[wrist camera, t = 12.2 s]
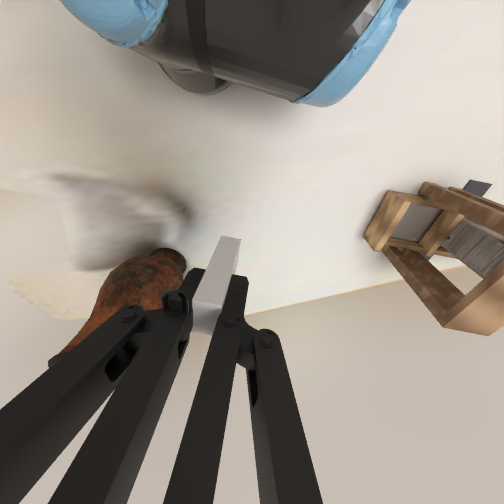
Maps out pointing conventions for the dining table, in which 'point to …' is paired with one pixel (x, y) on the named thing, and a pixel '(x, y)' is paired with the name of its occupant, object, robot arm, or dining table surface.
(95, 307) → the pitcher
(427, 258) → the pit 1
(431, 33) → the dining table surface
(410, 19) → the dining table surface
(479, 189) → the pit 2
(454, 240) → the coffee box
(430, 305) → the brown open upright frame
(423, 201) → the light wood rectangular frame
